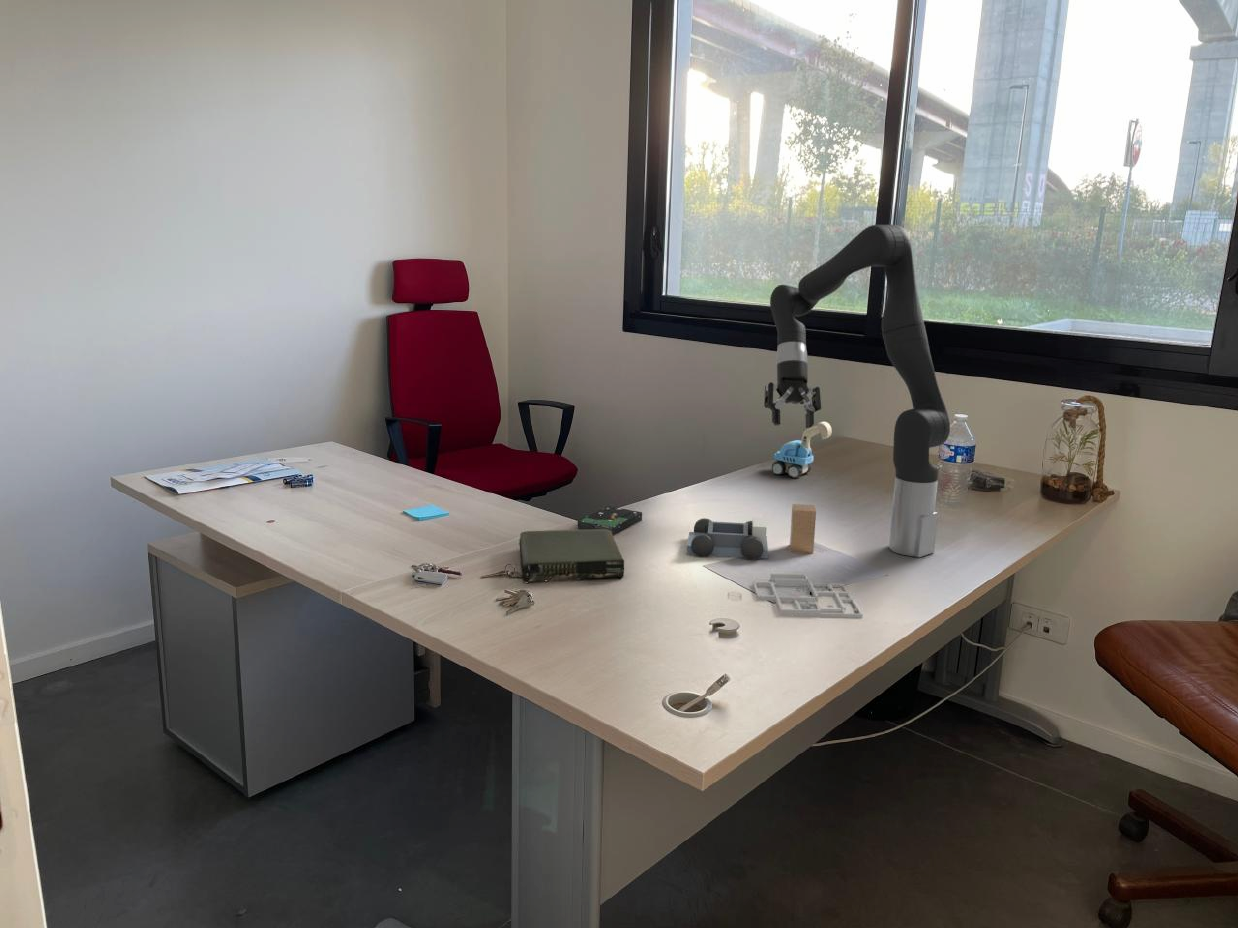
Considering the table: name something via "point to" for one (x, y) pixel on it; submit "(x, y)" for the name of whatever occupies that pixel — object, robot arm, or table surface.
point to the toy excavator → (799, 452)
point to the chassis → (729, 539)
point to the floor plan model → (801, 601)
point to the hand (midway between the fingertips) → (793, 426)
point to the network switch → (569, 555)
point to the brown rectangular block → (802, 528)
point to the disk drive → (610, 519)
